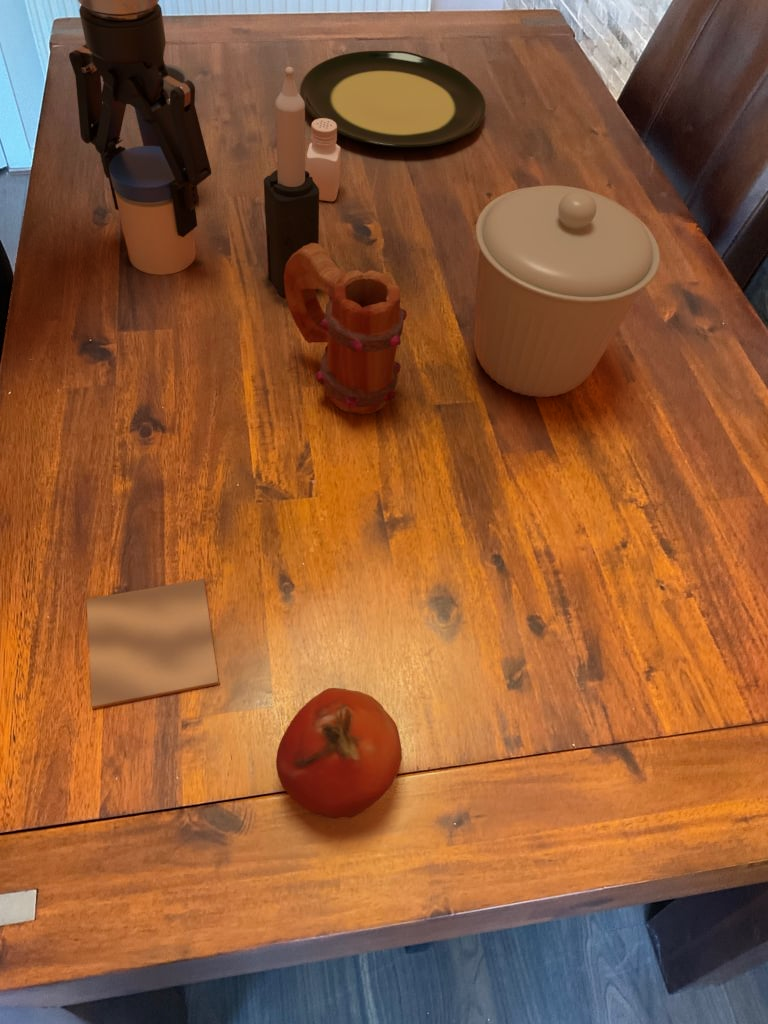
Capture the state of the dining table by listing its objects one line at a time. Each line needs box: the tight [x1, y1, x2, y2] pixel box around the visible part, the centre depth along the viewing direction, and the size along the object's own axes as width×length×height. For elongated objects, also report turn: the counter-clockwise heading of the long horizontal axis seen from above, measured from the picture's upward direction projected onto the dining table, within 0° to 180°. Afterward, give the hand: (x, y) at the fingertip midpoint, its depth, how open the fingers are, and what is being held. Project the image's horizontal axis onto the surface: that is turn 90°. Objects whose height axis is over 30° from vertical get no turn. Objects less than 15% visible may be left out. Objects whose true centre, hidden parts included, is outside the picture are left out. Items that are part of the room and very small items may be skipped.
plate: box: [299, 50, 487, 148], centre depth 121 cm, size 28×28×2 cm
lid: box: [109, 145, 185, 203], centre depth 89 cm, size 8×8×2 cm
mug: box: [284, 243, 408, 414], centre depth 81 cm, size 15×8×15 cm, turn 48°
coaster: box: [85, 578, 220, 710], centre depth 67 cm, size 10×10×1 cm
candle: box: [263, 66, 320, 298], centre depth 86 cm, size 5×5×25 cm
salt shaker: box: [306, 118, 342, 202], centre depth 104 cm, size 4×4×10 cm
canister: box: [473, 184, 661, 398], centre depth 83 cm, size 18×18×21 cm
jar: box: [115, 191, 197, 276], centre depth 93 cm, size 8×8×11 cm
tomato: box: [275, 687, 403, 820], centre depth 59 cm, size 9×9×8 cm
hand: (156, 217), depth 93 cm, fingers closed on lid, 8 cm apart
